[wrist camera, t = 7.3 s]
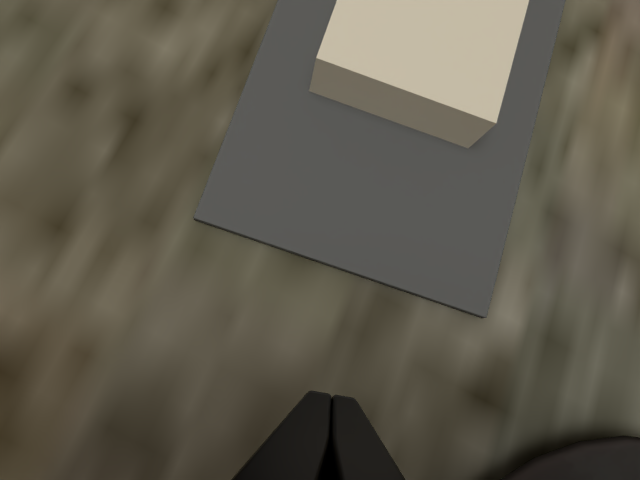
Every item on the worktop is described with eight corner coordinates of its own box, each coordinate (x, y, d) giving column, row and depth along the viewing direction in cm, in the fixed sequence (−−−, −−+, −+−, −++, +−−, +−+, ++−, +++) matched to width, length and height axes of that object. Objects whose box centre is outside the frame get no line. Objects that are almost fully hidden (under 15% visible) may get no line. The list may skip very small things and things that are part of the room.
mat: (482, 318, 21) (486, 317, 20) (194, 220, 20) (193, 217, 20) (582, -81, 25) (587, -88, 25) (347, -173, 24) (348, -181, 24)
